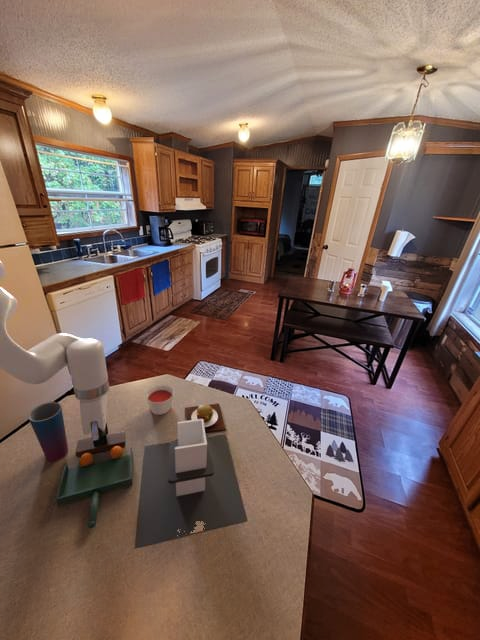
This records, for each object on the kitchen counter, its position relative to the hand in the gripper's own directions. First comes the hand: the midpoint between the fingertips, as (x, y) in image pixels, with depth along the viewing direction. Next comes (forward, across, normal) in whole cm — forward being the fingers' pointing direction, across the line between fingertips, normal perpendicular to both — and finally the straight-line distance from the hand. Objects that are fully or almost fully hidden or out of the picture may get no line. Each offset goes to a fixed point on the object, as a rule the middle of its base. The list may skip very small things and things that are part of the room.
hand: (101, 439), depth 70 cm
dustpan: (+4, +13, 0) cm, 13 cm away
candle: (+4, -12, +17) cm, 21 cm away
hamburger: (+4, -2, +30) cm, 31 cm away
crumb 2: (+2, +4, +4) cm, 5 cm away
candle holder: (+4, +16, +21) cm, 27 cm away
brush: (+3, 0, 0) cm, 3 cm away
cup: (+4, -3, -12) cm, 13 cm away
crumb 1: (+2, +3, -4) cm, 5 cm away
